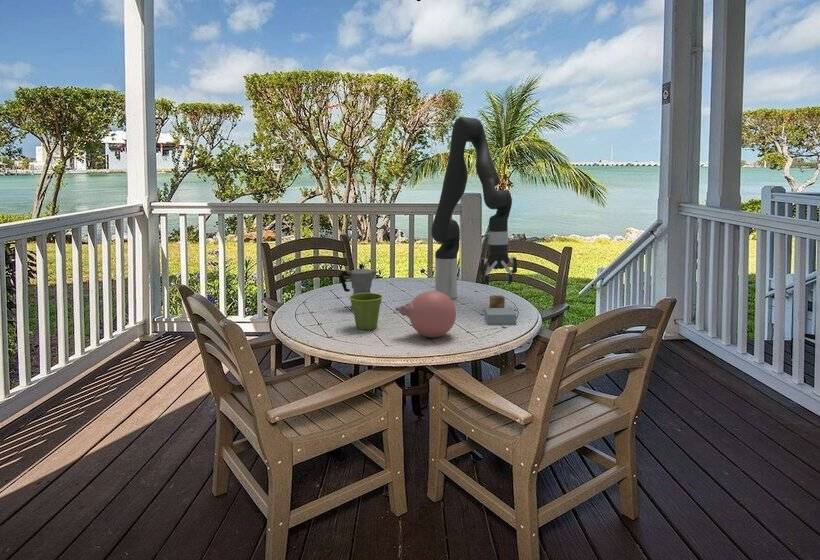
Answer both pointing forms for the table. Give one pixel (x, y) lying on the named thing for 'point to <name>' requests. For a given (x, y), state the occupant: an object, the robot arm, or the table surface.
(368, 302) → the plant pot
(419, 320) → the balloon
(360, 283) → the coffeepot
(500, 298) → the walnut block
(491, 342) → the table surface
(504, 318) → the slate base block
